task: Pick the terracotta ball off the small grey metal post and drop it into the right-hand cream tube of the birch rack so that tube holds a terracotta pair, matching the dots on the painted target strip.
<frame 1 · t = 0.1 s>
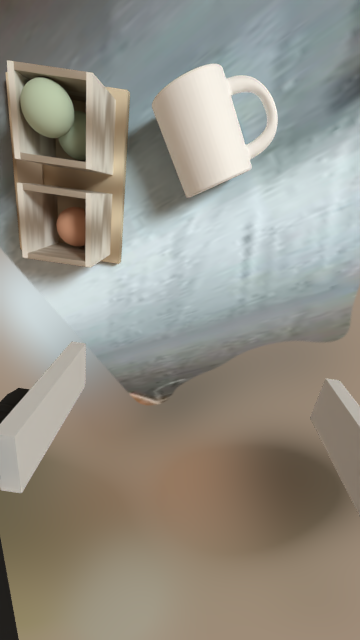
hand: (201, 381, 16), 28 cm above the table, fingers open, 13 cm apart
ball terracotta in tube: (76, 227, 37), point 4 cm above the table, touching rack
rack: (72, 178, 38), on the table
ball sage upper: (48, 109, 28), point 8 cm above the table, tilted 29°, touching ball sage lower, rack
mug: (217, 137, 36), on the table
ball sage lower: (80, 136, 33), point 4 cm above the table, tilted 7°, touching ball sage upper, rack
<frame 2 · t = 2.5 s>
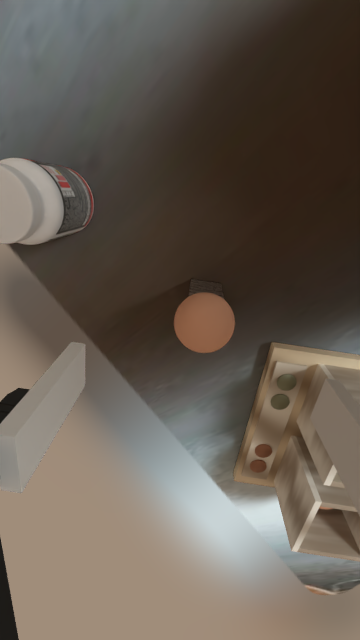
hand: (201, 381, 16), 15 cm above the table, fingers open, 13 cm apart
rack: (308, 423, 35), on the table
ball terracotta: (204, 322, 23), point 7 cm above the table, touching post
pill bottle: (66, 201, 27), on the table
post: (203, 295, 29), on the table
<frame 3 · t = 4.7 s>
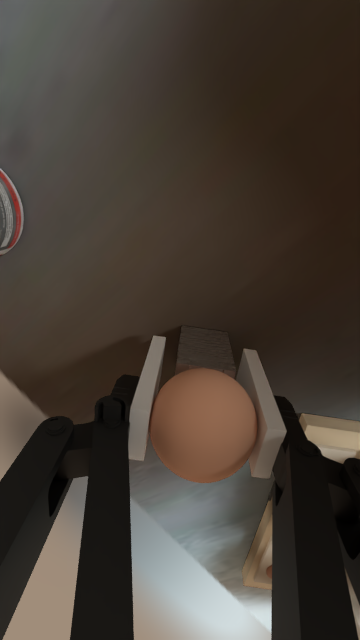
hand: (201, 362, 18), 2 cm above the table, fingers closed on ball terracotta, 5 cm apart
rack: (347, 516, 25), on the table
ball terracotta: (202, 421, 13), point 7 cm above the table, touching gripper, post
post: (200, 349, 19), on the table
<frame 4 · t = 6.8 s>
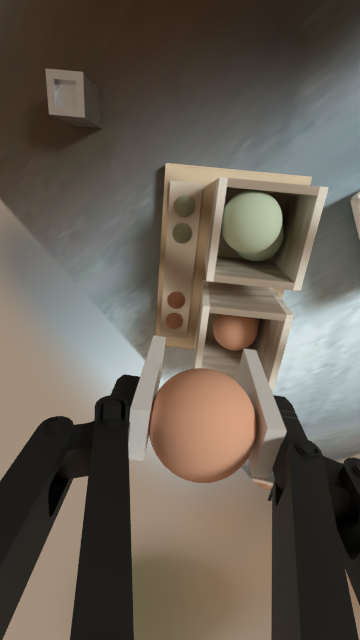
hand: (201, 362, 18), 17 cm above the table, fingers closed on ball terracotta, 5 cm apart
ball terracotta in tube: (235, 328, 32), point 4 cm above the table, touching rack
rack: (222, 269, 33), on the table
ball terracotta: (201, 422, 13), point 23 cm above the table, touching gripper
ball sage upper: (250, 222, 23), point 8 cm above the table, tilted 29°, touching ball sage lower, rack
ball sage lower: (257, 235, 28), point 4 cm above the table, tilted 7°, touching ball sage upper, rack
post: (86, 108, 28), on the table
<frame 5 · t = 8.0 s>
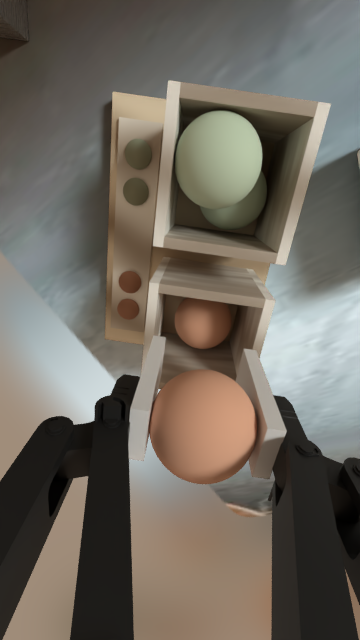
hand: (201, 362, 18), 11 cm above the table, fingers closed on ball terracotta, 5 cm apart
ball terracotta in tube: (202, 320, 25), point 4 cm above the table, touching rack
rack: (190, 245, 26), on the table
ball terracotta: (202, 423, 13), point 16 cm above the table, touching gripper
ball sage upper: (217, 163, 16), point 8 cm above the table, tilted 29°, touching ball sage lower, rack
ball sage lower: (232, 194, 21), point 4 cm above the table, tilted 7°, touching ball sage upper, rack
post: (5, 10, 20), on the table
when the fingers open (10 cm above the table, at t = 8.8 s): ball terracotta drops 7 cm and tips over, resting on ball terracotta in tube, rack.
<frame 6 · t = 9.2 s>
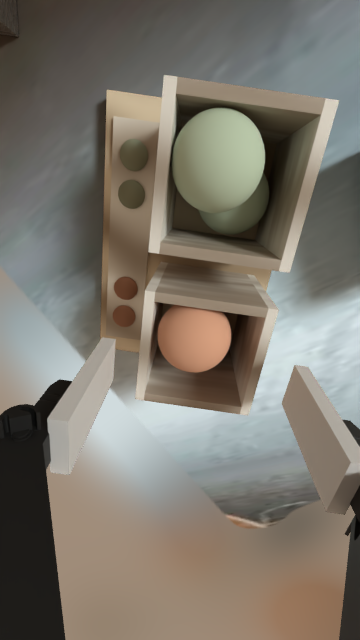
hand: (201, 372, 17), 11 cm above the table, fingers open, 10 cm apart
rack: (188, 249, 25), on the table
ball terracotta: (194, 335, 19), point 8 cm above the table, tilted 46°, touching ball terracotta in tube, rack
ball sage upper: (217, 164, 15), point 8 cm above the table, tilted 30°, touching ball sage lower, rack
ball sage lower: (232, 197, 20), point 4 cm above the table, tilted 7°, touching ball sage upper, rack
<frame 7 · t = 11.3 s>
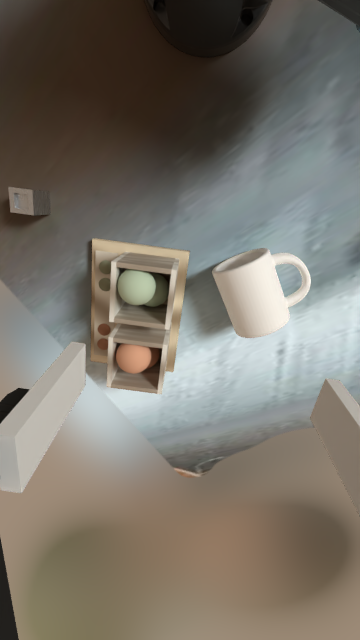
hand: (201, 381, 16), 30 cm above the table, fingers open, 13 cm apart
ball terracotta in tube: (143, 353, 45), point 4 cm above the table, tilted 10°, touching ball terracotta, rack
rack: (137, 308, 46), on the table
ball terracotta: (133, 356, 40), point 8 cm above the table, tilted 46°, touching ball terracotta in tube, rack
ball sage upper: (136, 286, 37), point 8 cm above the table, tilted 30°, touching ball sage lower, rack
mug: (258, 280, 44), on the table
ball sage lower: (152, 289, 41), point 4 cm above the table, tilted 7°, touching ball sage upper, rack
post: (39, 201, 41), on the table
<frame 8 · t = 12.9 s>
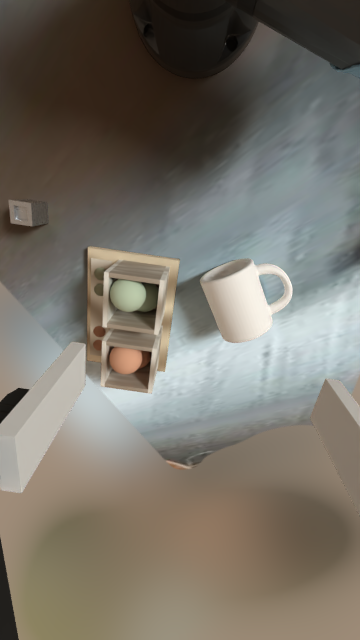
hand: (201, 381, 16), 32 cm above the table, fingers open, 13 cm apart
ball terracotta in tube: (136, 354, 48), point 4 cm above the table, tilted 10°, touching ball terracotta, rack
rack: (130, 312, 49), on the table
ball terracotta: (125, 358, 43), point 8 cm above the table, tilted 46°, touching ball terracotta in tube, rack
ball sage upper: (128, 294, 39), point 8 cm above the table, tilted 30°, touching ball sage lower, rack
mug: (245, 287, 47), on the table
ball sage lower: (144, 296, 44), point 4 cm above the table, tilted 7°, touching ball sage upper, rack
post: (37, 211, 44), on the table
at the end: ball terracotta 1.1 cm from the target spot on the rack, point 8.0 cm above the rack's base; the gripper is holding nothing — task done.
